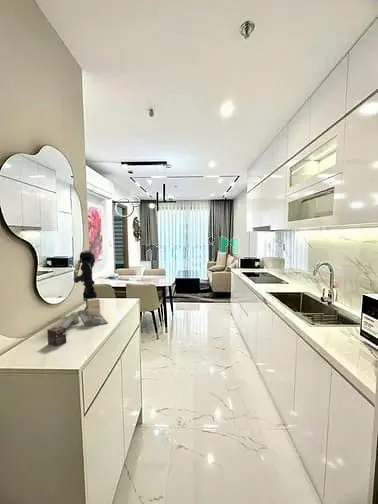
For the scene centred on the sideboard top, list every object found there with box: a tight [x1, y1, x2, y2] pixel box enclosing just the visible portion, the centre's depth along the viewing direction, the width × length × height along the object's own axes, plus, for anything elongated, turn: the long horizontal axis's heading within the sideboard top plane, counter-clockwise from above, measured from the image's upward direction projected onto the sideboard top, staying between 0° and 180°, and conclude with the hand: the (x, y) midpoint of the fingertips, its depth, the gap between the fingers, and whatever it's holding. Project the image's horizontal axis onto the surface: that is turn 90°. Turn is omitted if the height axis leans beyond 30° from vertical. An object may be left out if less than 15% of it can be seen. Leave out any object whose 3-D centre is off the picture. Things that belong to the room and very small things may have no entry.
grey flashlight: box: [56, 312, 80, 329], centre depth 167 cm, size 5×7×25 cm
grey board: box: [79, 308, 109, 328], centre depth 183 cm, size 30×12×4 cm, turn 27°
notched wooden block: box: [87, 297, 101, 321], centre depth 178 cm, size 5×6×12 cm
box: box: [46, 325, 67, 347], centre depth 142 cm, size 6×6×7 cm
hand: (88, 294), depth 197 cm, fingers closed
